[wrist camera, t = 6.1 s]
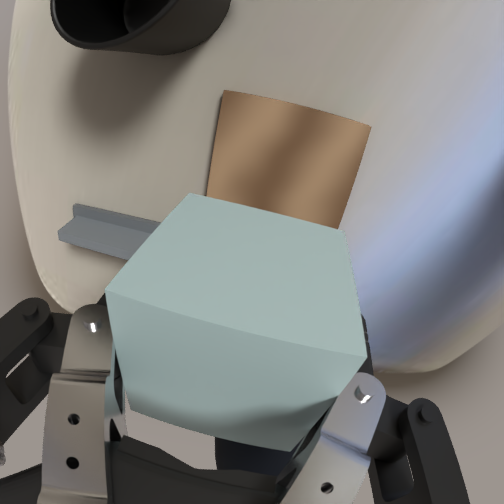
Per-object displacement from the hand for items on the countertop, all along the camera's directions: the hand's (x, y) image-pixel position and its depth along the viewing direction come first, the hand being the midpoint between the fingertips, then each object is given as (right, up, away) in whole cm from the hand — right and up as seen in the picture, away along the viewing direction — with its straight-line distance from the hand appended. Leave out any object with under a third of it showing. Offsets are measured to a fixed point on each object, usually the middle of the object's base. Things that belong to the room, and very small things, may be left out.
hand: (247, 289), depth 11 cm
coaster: (+3, +8, +12) cm, 15 cm away
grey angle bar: (-12, +4, +17) cm, 21 cm away
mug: (-5, +21, +6) cm, 22 cm away
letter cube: (0, 0, +1) cm, 1 cm away
